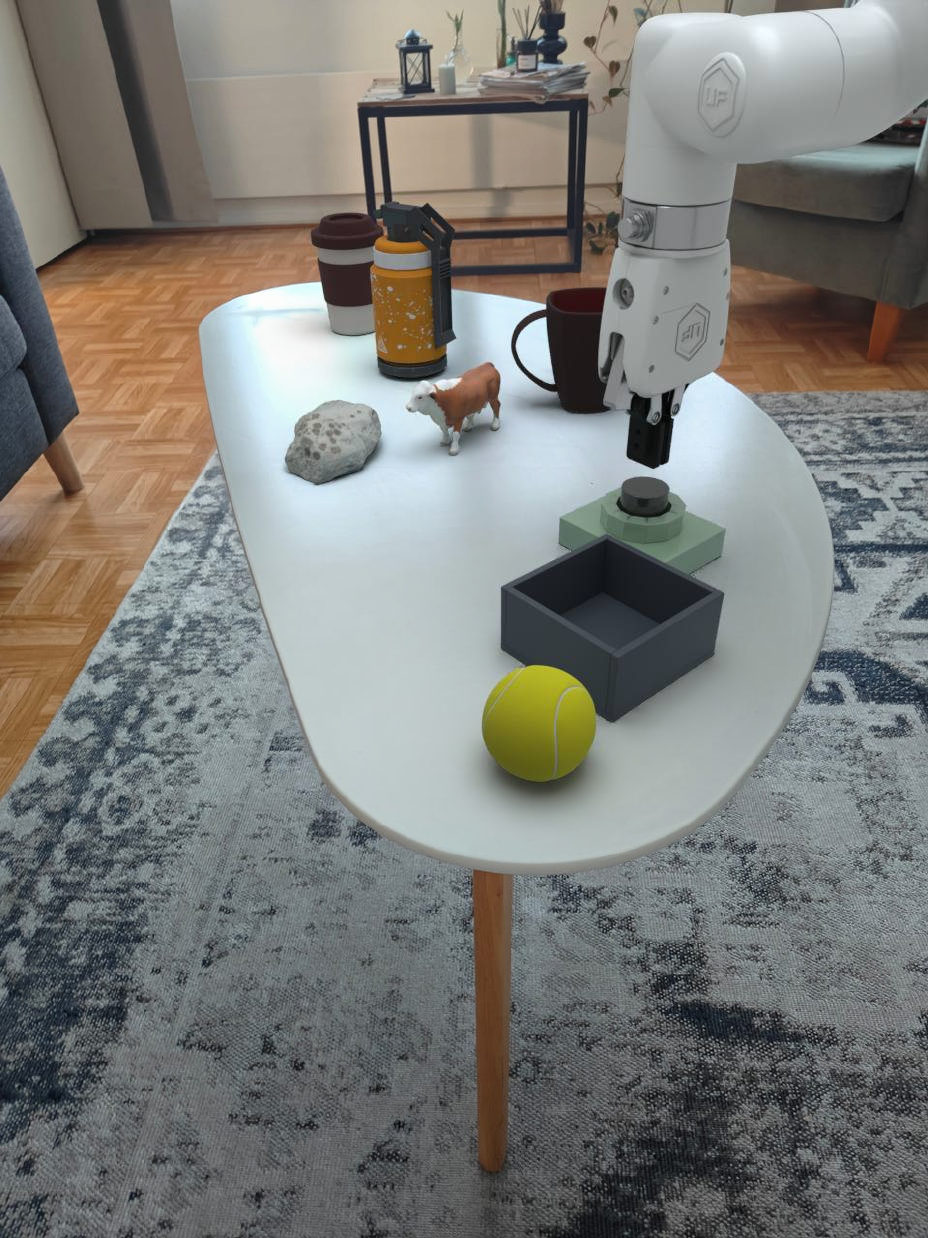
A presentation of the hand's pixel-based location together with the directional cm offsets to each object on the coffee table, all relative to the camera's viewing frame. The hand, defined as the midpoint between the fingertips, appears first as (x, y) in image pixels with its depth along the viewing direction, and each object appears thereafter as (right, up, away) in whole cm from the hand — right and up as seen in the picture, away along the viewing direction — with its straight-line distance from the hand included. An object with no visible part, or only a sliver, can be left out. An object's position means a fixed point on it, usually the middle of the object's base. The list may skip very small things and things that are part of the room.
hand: (646, 460), depth 74 cm
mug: (-3, +12, +32) cm, 34 cm away
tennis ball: (-10, -23, -16) cm, 30 cm away
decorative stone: (-29, +4, +22) cm, 36 cm away
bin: (-4, -16, -7) cm, 18 cm away
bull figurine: (-16, +6, +24) cm, 29 cm away
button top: (0, -4, +2) cm, 4 cm away
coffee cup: (-31, +29, +56) cm, 70 cm away
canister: (-21, +19, +42) cm, 50 cm away
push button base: (0, -7, +5) cm, 9 cm away
